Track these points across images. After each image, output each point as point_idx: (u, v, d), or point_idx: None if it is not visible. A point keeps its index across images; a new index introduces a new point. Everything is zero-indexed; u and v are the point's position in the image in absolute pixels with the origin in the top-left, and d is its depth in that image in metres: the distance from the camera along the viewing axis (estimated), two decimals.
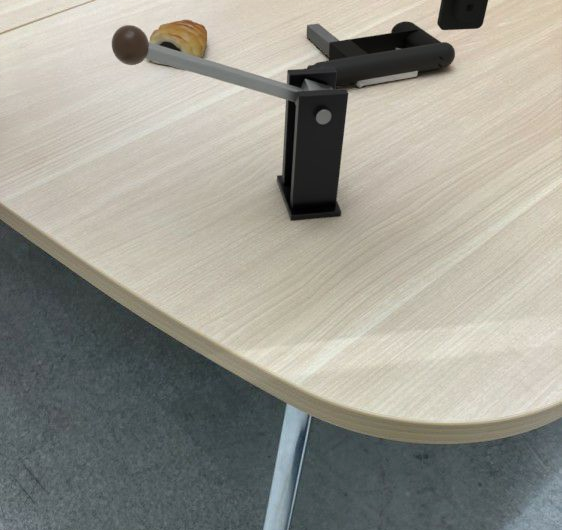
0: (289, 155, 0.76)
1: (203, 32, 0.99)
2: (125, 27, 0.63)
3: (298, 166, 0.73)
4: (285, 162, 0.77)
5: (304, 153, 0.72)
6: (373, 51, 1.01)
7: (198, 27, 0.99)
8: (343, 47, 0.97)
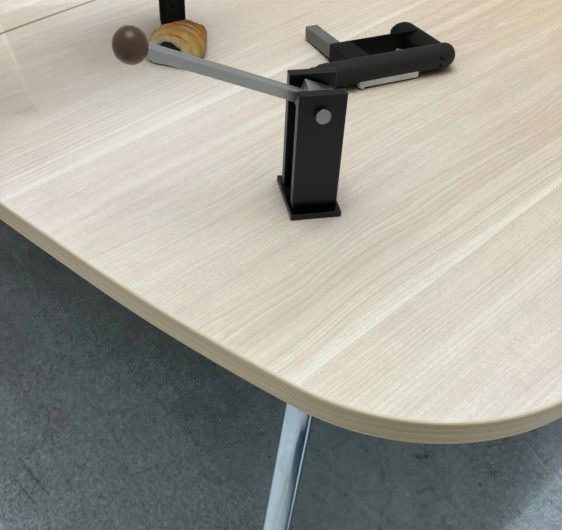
0: (289, 155, 0.76)
1: (203, 32, 0.99)
2: (125, 27, 0.63)
3: (298, 166, 0.73)
4: (285, 162, 0.77)
5: (304, 153, 0.72)
6: (373, 52, 1.01)
7: (198, 27, 0.99)
8: (344, 48, 0.96)
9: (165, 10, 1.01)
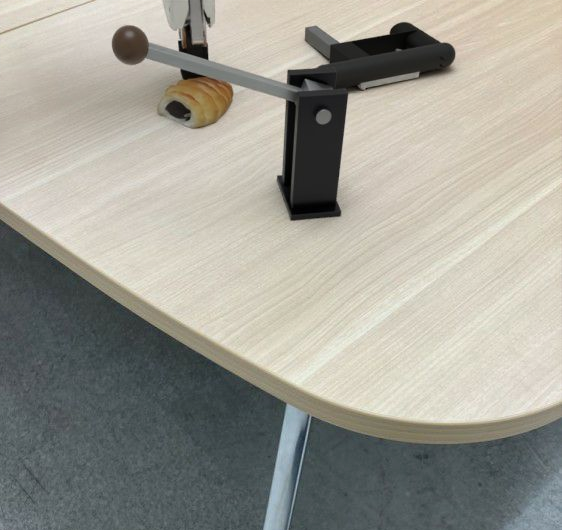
0: (289, 155, 0.76)
1: (226, 93, 0.89)
2: (125, 27, 0.63)
3: (298, 166, 0.73)
4: (285, 162, 0.77)
5: (304, 153, 0.72)
6: (373, 52, 1.01)
7: (221, 87, 0.89)
8: (344, 49, 0.96)
9: None
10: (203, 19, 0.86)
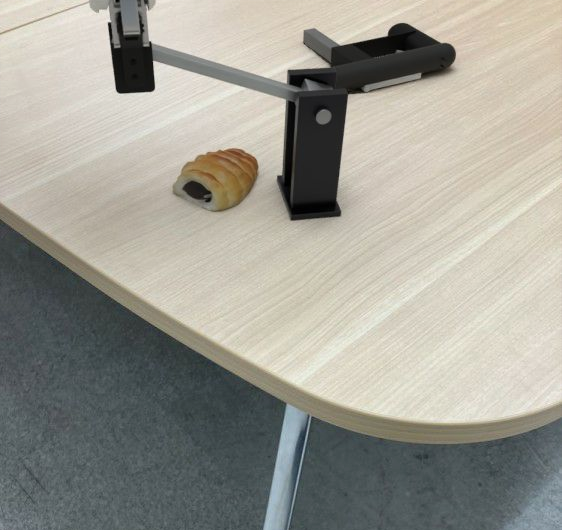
0: (289, 155, 0.76)
1: (250, 169, 0.79)
2: None
3: (298, 166, 0.73)
4: (285, 162, 0.77)
5: (304, 153, 0.72)
6: (373, 54, 1.00)
7: (245, 162, 0.79)
8: (346, 52, 0.96)
9: (121, 67, 0.63)
10: (141, 0, 0.59)
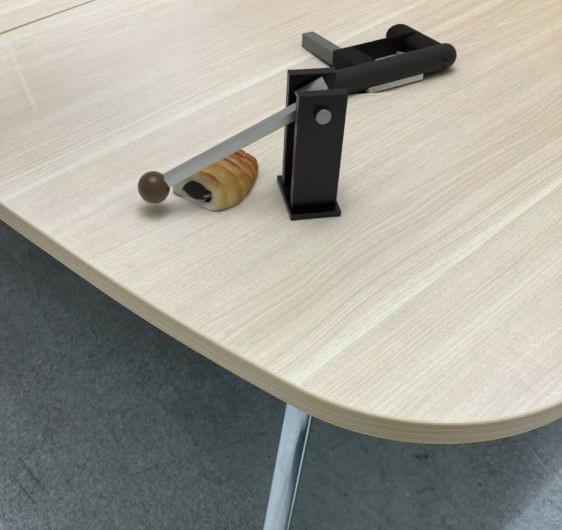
0: (289, 155, 0.76)
1: (250, 169, 0.79)
2: (139, 181, 0.73)
3: (298, 166, 0.73)
4: (285, 162, 0.77)
5: (304, 153, 0.72)
6: (374, 56, 1.00)
7: (245, 162, 0.79)
8: (348, 54, 0.95)
9: None
10: None
